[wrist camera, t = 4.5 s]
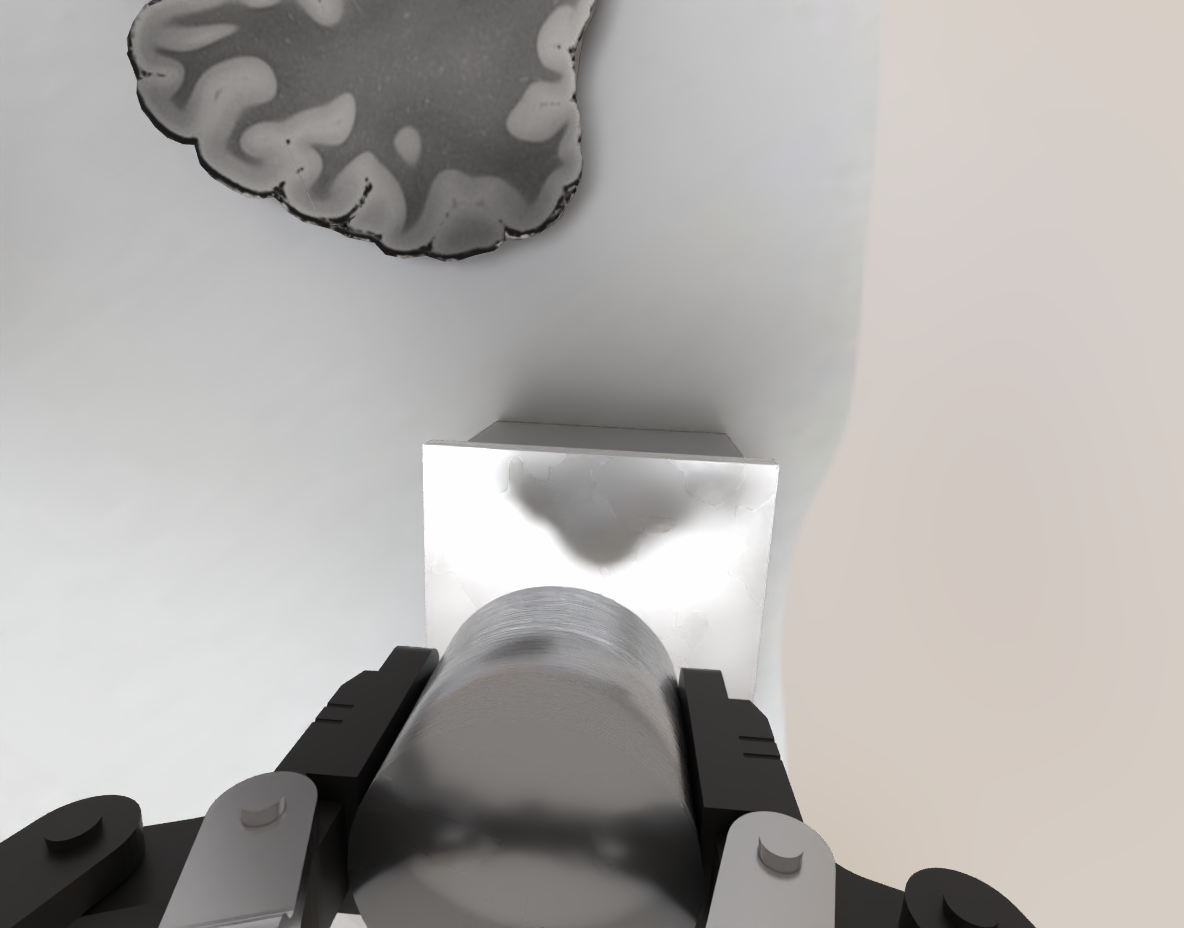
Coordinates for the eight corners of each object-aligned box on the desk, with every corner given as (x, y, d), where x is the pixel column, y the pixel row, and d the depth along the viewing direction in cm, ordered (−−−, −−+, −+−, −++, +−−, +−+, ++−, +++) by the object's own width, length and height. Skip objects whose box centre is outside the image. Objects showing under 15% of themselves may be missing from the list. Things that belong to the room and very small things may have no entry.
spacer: (551, 843, 13) (516, 1071, 9) (388, 685, 12) (276, 857, 8) (730, 711, 12) (779, 902, 8) (563, 535, 11) (530, 649, 7)
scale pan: (729, 865, 21) (732, 886, 21) (437, 837, 22) (429, 856, 21) (773, 459, 18) (779, 465, 17) (431, 439, 19) (422, 445, 18)
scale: (712, 725, 28) (731, 831, 22) (493, 706, 29) (456, 806, 23) (740, 434, 25) (770, 469, 19) (496, 421, 26) (454, 450, 20)
